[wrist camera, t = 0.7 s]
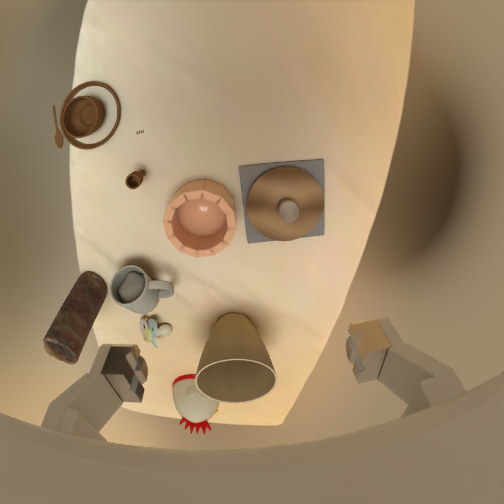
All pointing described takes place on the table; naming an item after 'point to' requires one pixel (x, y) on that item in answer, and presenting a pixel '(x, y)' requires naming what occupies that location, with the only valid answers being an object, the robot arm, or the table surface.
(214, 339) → the plant pot
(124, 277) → the ceramic mug
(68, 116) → the place setting
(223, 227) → the bowl
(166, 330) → the pacifier
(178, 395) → the kitchen timer
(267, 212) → the lid
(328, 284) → the table surface
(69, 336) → the brown textured cylinder
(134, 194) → the table surface
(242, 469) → the robot arm
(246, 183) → the mat
